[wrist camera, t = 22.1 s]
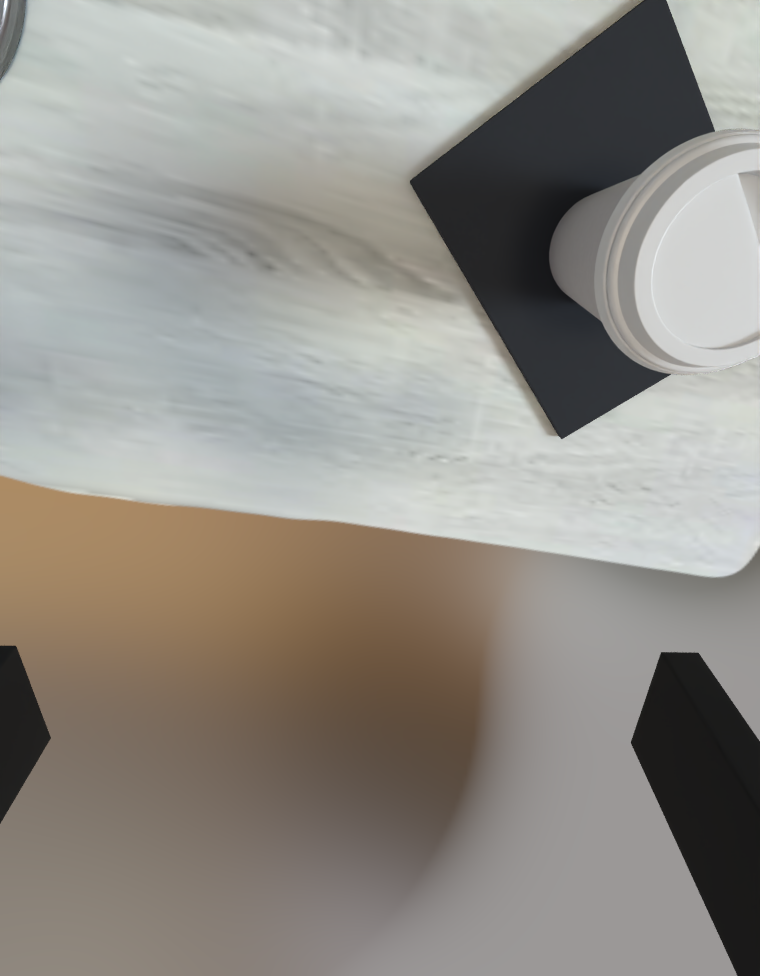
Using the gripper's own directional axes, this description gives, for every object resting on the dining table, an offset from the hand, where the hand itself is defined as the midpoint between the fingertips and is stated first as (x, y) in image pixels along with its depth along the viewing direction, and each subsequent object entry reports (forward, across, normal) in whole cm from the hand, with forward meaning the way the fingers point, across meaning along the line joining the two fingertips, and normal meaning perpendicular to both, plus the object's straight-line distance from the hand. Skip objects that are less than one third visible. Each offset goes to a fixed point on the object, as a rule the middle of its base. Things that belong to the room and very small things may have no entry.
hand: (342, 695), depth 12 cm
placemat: (+30, +15, +6) cm, 34 cm away
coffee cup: (+30, +15, +6) cm, 34 cm away
